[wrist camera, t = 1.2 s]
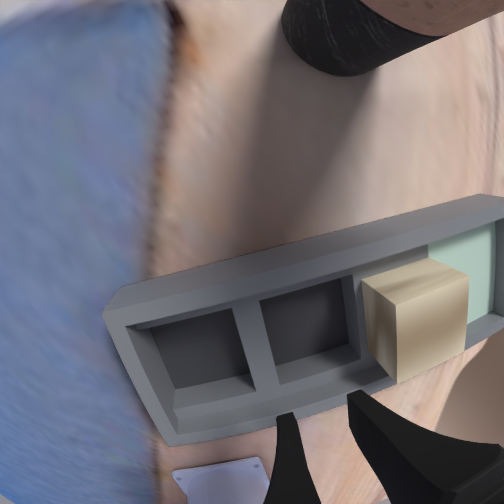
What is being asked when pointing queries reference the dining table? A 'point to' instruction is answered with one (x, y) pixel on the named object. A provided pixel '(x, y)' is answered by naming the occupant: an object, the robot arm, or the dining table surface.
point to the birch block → (415, 316)
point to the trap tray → (291, 320)
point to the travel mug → (373, 29)
